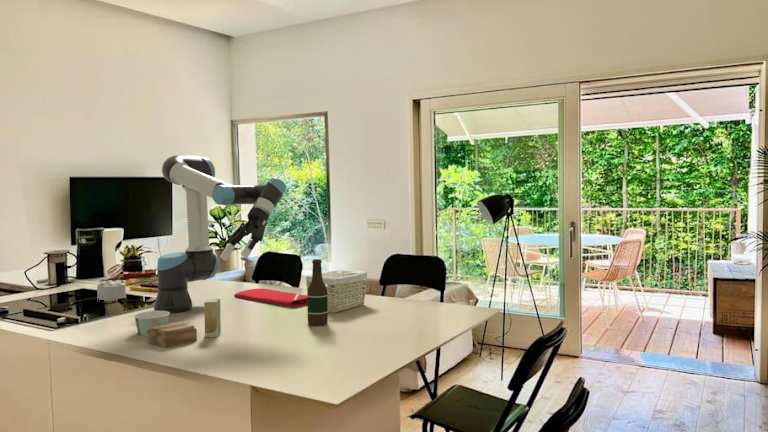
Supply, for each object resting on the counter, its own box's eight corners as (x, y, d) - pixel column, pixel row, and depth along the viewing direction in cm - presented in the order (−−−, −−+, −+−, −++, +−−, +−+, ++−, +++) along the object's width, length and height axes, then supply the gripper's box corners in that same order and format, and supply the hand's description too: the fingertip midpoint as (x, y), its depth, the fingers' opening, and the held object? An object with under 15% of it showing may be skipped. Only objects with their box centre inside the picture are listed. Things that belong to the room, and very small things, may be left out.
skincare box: (208, 333, 202) (207, 298, 202) (221, 332, 203) (220, 298, 202) (204, 337, 196) (203, 301, 195) (217, 337, 196) (216, 301, 196)
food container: (148, 338, 196) (147, 319, 196) (126, 333, 202) (126, 315, 202) (177, 330, 206) (177, 312, 206) (156, 326, 212) (155, 309, 212)
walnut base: (147, 342, 190) (147, 327, 190) (177, 335, 199) (177, 321, 199) (166, 347, 184) (166, 332, 184) (196, 340, 193) (196, 325, 192)
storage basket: (339, 301, 259) (339, 268, 258) (369, 304, 250) (369, 271, 250) (304, 310, 239) (303, 275, 238) (335, 315, 230) (335, 278, 230)
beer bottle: (324, 326, 210) (323, 261, 209) (304, 326, 212) (303, 260, 211) (330, 322, 218) (330, 258, 217) (311, 321, 219) (310, 258, 218)
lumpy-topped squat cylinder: (107, 303, 258) (107, 283, 258) (91, 300, 266) (91, 281, 265) (129, 299, 267) (128, 280, 267) (113, 296, 274) (112, 278, 274)
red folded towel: (261, 293, 282) (261, 286, 282) (318, 304, 255) (318, 295, 255) (233, 298, 270) (233, 290, 270) (290, 309, 243) (290, 300, 243)
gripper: (287, 214, 214) (260, 261, 203) (248, 222, 231) (221, 266, 220) (273, 201, 210) (245, 248, 199) (235, 210, 227) (207, 254, 216)
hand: (233, 257), depth 209 cm, fingers open, 13 cm apart
